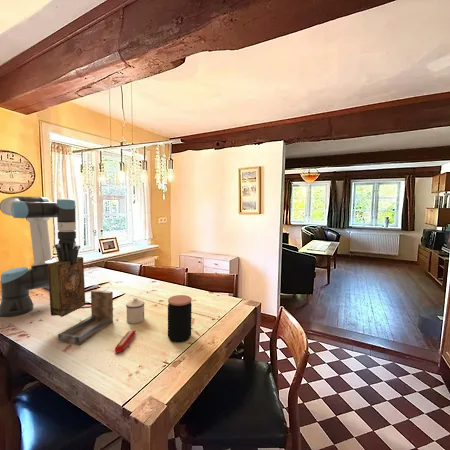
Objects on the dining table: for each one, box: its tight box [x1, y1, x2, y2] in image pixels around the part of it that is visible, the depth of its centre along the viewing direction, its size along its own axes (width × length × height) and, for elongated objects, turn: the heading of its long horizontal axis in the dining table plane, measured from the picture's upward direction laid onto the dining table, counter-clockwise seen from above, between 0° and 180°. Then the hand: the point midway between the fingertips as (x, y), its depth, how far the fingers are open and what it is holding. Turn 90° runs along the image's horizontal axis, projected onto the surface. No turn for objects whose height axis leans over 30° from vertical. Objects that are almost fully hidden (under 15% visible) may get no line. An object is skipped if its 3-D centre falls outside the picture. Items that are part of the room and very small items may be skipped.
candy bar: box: [114, 329, 137, 353], centre depth 111 cm, size 16×4×3 cm, turn 178°
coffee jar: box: [167, 294, 193, 344], centre depth 116 cm, size 11×11×18 cm
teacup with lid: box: [125, 297, 146, 325], centre depth 133 cm, size 12×9×12 cm
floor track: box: [57, 289, 114, 346], centre depth 120 cm, size 11×22×16 cm, turn 167°
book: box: [48, 256, 86, 318], centre depth 125 cm, size 16×6×25 cm, turn 167°
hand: (68, 278), depth 124 cm, fingers closed
